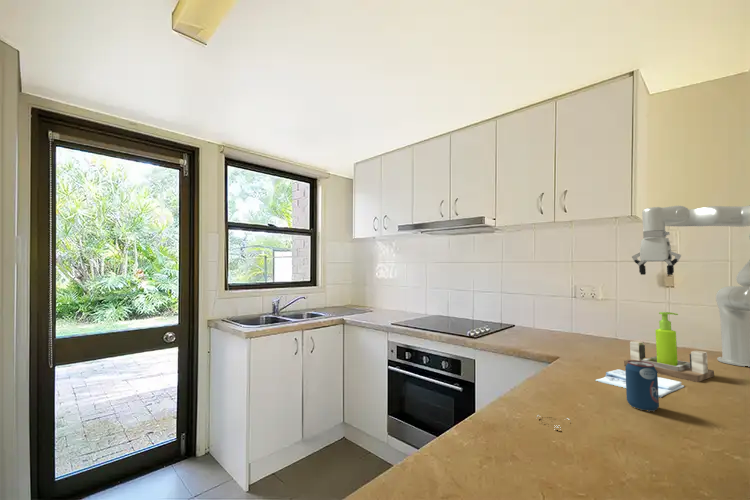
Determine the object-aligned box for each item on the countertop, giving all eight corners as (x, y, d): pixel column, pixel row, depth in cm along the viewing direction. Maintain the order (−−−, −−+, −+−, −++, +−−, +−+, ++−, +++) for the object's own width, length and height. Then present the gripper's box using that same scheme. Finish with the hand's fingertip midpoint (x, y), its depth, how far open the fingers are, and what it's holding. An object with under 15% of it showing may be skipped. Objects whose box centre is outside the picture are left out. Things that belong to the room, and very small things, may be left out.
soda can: (661, 414, 86) (659, 367, 87) (628, 408, 90) (626, 363, 91) (656, 405, 92) (654, 361, 93) (625, 400, 96) (623, 358, 97)
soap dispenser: (685, 368, 122) (682, 313, 123) (663, 367, 123) (660, 312, 125) (674, 364, 128) (671, 311, 129) (653, 362, 129) (651, 311, 130)
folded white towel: (685, 388, 108) (685, 381, 108) (659, 400, 98) (659, 393, 98) (618, 373, 125) (618, 367, 125) (590, 382, 114) (590, 375, 114)
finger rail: (642, 361, 139) (641, 339, 139) (714, 376, 119) (712, 350, 120) (624, 365, 132) (623, 342, 133) (697, 382, 113) (696, 355, 113)
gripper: (683, 234, 140) (685, 274, 139) (635, 237, 155) (637, 274, 154) (675, 233, 136) (677, 274, 135) (627, 237, 151) (629, 274, 150)
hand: (656, 274), depth 145 cm, fingers open, 9 cm apart
